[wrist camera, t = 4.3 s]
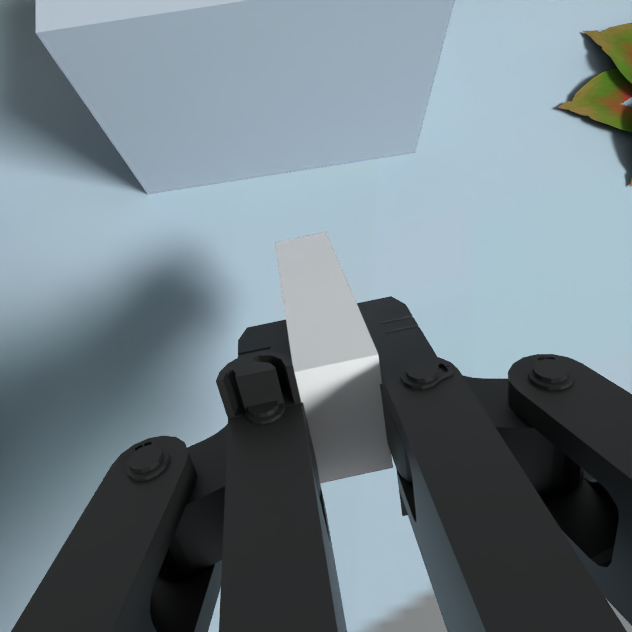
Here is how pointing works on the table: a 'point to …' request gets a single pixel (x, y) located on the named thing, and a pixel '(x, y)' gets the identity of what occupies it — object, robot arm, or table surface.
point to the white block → (248, 81)
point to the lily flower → (609, 82)
